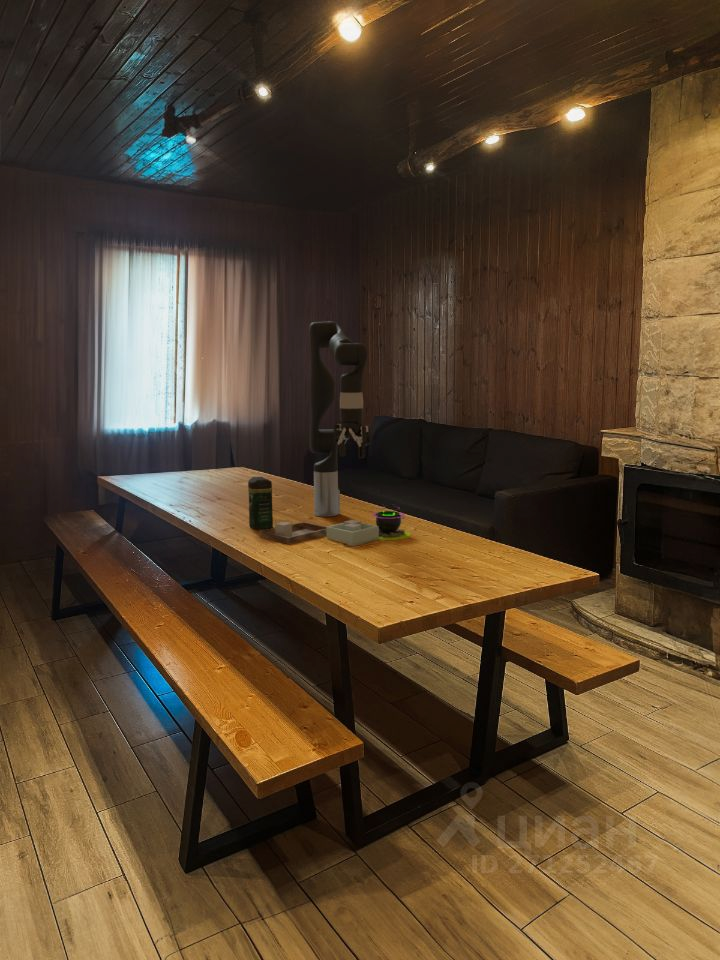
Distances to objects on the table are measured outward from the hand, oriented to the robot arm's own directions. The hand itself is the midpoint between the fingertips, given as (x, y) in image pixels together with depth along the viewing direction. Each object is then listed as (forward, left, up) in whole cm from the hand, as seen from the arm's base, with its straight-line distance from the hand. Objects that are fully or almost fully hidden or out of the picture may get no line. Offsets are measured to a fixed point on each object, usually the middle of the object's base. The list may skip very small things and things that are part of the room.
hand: (351, 457), depth 228 cm
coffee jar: (+8, -38, -28) cm, 48 cm away
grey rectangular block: (0, 0, -28) cm, 28 cm away
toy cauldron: (-16, +2, -28) cm, 33 cm away
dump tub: (-2, -2, -28) cm, 28 cm away
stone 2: (-4, -4, -28) cm, 28 cm away
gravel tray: (+8, -19, -28) cm, 35 cm away
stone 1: (+14, -19, -28) cm, 36 cm away
